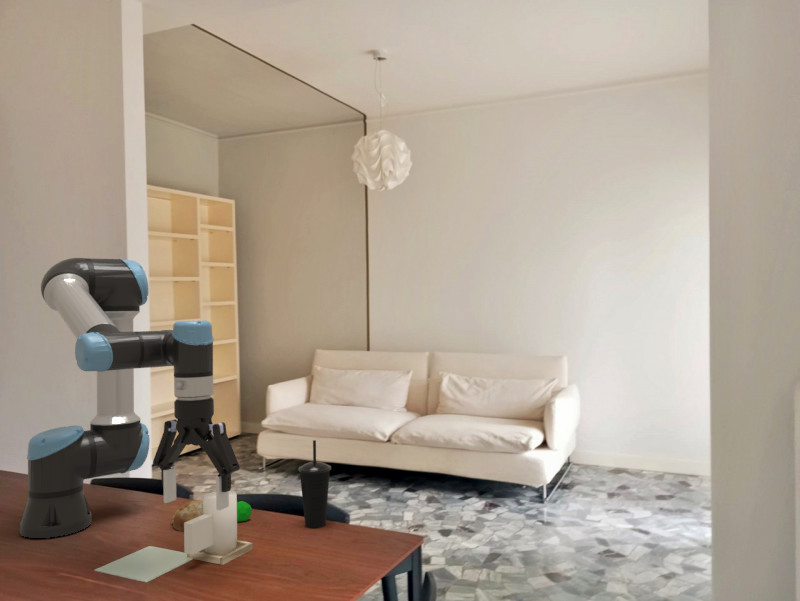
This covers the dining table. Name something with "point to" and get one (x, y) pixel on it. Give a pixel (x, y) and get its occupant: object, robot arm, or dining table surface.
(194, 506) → the bread roll
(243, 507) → the polyhedron
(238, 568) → the dining table surface
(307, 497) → the drinking cup
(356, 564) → the dining table surface
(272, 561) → the dining table surface
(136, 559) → the plate
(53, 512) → the robot arm
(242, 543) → the holder
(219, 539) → the white cylinder with tab
